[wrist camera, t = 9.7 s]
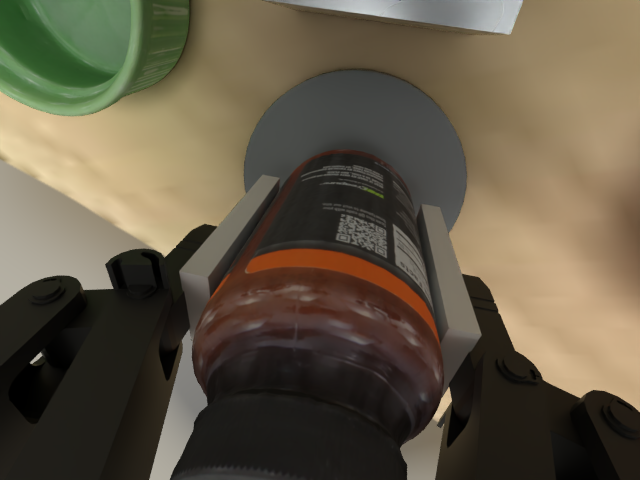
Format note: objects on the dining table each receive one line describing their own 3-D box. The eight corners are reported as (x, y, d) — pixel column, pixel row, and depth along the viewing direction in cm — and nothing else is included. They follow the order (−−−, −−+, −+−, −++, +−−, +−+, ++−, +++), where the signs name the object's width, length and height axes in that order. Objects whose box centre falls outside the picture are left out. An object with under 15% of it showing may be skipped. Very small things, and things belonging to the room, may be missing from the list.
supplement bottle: (300, 265, 17) (192, 563, 7) (266, 157, 14) (6, 426, 4) (418, 256, 15) (473, 621, 6) (408, 131, 12) (495, 469, 3)
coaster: (248, 51, 14) (241, 52, 13) (504, 90, 13) (510, 93, 12) (250, 251, 20) (245, 258, 19) (423, 286, 19) (424, 295, 18)
